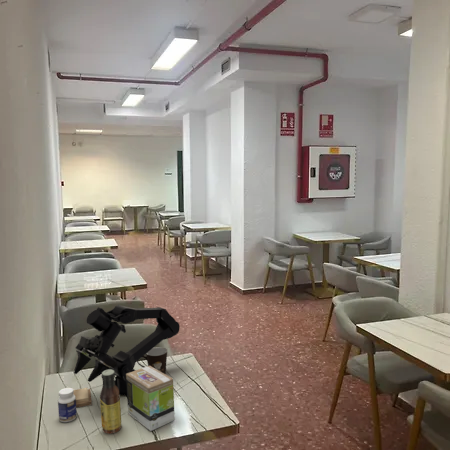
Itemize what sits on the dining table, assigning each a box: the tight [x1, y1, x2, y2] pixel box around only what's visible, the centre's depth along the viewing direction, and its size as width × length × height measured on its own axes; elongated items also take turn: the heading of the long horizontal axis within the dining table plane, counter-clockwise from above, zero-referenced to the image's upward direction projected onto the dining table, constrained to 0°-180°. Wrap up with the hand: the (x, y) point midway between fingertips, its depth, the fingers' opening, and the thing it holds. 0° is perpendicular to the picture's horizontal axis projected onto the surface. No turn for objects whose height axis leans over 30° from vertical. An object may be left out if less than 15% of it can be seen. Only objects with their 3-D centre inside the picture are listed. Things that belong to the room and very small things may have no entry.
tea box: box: [126, 365, 176, 432], centre depth 147 cm, size 15×10×15 cm
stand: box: [73, 387, 93, 409], centre depth 160 cm, size 10×10×2 cm
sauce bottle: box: [99, 369, 122, 435], centre depth 140 cm, size 7×6×20 cm
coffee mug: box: [136, 346, 168, 375], centre depth 179 cm, size 12×9×10 cm
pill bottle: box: [57, 387, 78, 423], centre depth 148 cm, size 6×6×10 cm
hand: (81, 377), depth 152 cm, fingers open, 9 cm apart
